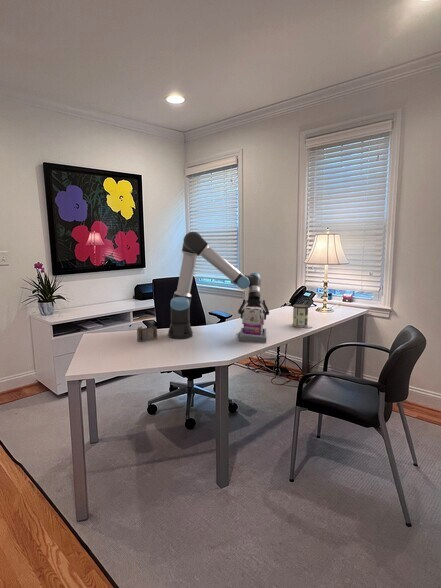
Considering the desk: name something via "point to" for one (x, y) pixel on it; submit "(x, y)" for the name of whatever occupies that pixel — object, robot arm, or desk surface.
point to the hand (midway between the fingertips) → (253, 323)
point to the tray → (252, 337)
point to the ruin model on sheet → (146, 334)
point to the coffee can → (300, 315)
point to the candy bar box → (253, 320)
